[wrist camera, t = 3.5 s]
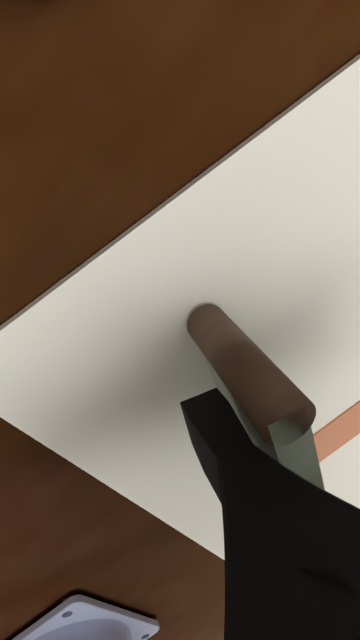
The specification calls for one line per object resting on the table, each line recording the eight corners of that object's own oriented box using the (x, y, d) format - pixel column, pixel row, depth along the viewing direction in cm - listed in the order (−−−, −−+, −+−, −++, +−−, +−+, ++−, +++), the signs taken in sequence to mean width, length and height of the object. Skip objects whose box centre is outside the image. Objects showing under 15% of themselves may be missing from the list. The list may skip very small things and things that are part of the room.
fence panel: (276, 466, 17) (347, 572, 13) (251, 480, 17) (316, 591, 13) (218, 297, 12) (312, 388, 7) (181, 315, 12) (255, 419, 7)
